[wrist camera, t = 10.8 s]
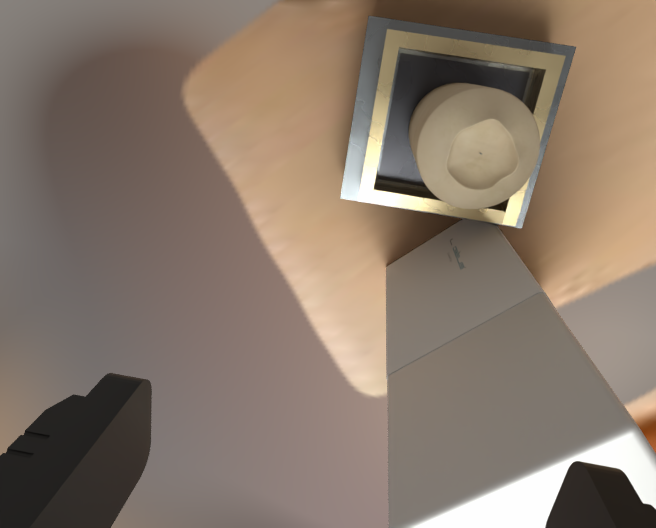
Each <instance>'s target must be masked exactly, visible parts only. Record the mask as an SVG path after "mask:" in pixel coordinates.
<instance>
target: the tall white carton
mask: <svg viewBox="0 0 656 528" xmlns="http://www.w3.org/2000/svg"><path fill="white" fill-rule="evenodd" d="M386 368H387V392H388V497H389V498H388V501H389V502H388V503H389V528H545V526H546V522H547V519H548V516H549V514H550V512H551V509H552V507H553V504H554V502H555V499H556V497H557V495H558V492H559V490H560V487H561V485H562V483H563V480H564V478H565V475H566V473H567V470H568V468H569V467H570V465H571V464H572V463H573V462H575V461H581V462H586V463H591V464H597V465H602V466H608V467H613V468H618V469H620V470H622V471H623V472H624V473H625V474H626V476H627V477H628V479H629V480H630V482H631V484H632V486H633V487H634V489H635V491H636V492H637V494H638V496H639V497H640V499H641V501H642V502H643V503H645V504H650V505H652V506H653V507H654V508H655V509H656V453H655V452H654V450H653V449H652V447H651V445H650V444H649V442H648V441H647V439H646V438H645V436H644V434H643V433H642V431H641V430H640V428H639V427H638V425H637V424H636V422H635V421H634V419H633V418H632V417H631V415H630V414H629V412H628V411H627V410H626V408H625V407H624V405H623V404H622V403H621V401H620V400H619V398H618V397H617V395H616V394H615V393H614V391H613V390H612V388H611V387H610V386H609V384H608V383H607V381H606V380H605V378H604V377H603V376H602V374H601V373H600V371H599V370H598V369H597V367H596V366H595V364H594V363H593V362H592V360H591V359H590V357H589V356H588V354H587V353H586V352H585V350H584V349H583V347H582V346H581V345H580V343H579V342H578V340H577V339H576V337H575V336H574V335H573V333H572V332H571V330H570V329H569V328H568V326H567V325H566V323H565V322H564V321H563V319H562V318H561V316H560V315H559V313H558V312H557V310H556V309H555V307H554V306H553V304H552V303H551V301H550V299H549V298H548V296H547V295H546V293H545V292H544V291H543V289H542V288H541V286H540V285H539V284H538V282H537V281H536V279H535V278H534V277H533V275H532V274H531V272H530V271H529V270H528V268H527V267H526V265H525V264H524V263H523V261H522V260H521V258H520V257H519V256H518V254H517V253H516V251H515V250H514V249H513V247H512V246H511V244H510V243H509V241H508V240H507V239H506V237H505V236H504V234H503V233H502V232H501V230H500V229H499V227H498V226H497V225H496V224H492V223H486V222H480V221H474V220H468V219H462V220H460V221H459V222H457V223H455V224H454V225H452V226H451V227H449V228H447V229H446V230H444V231H443V232H441V233H439V234H438V235H436V236H435V237H433V238H431V239H430V240H428V241H427V242H425V243H423V244H422V245H420V246H419V247H417V248H415V249H414V250H412V251H411V252H409V253H407V254H406V255H404V256H403V257H401V258H399V259H398V260H396V261H395V262H393V263H391V264H390V265H388V266H387V267H386Z"/></svg>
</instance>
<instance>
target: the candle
mask: <svg viewBox="0 0 656 528" xmlns="http://www.w3.org/2000/svg"><path fill="white" fill-rule="evenodd" d="M409 142H410V146H411V150H412V153H413V155H414V158H415V161H416V164H417V167H418V170H419V172H420V175H421V178H422V179H423V181H424V183H425V185H426V186H427V187H428V189H429V190H430V191H431V192H432V193H433V194H434V195H435V196H436V197H438V198H439V199H440V200H442V201H444V202H445V203H447V204H450V205H452V206H455V207H459V208H464V209H482V208H487V207H491V206H494V205H497V204H499V203H501V202H503V201H505V200H507V199H508V198H510V197H511V196H513V195H514V194H515V193H516V192H518V191H519V190H520V189H521V188H522V187H523V185H524V184H525V183H526V182H527V180H528V179H529V178H530V176H531V174H532V172H533V170H534V168H535V166H536V163H537V160H538V156H539V150H540V136H539V130H538V126H537V123H536V121H535V118H534V116H533V114H532V113H531V111H530V110H529V108H528V107H527V106H526V105H525V104H524V103H523V102H522V101H521V100H519V99H518V98H517V97H515V96H514V95H512V94H510V93H508V92H506V91H503V90H500V89H496V88H491V87H486V86H480V85H474V84H469V83H450V84H446V85H442V86H440V87H438V88H435V89H434V90H432V91H431V92H429V93H428V94H427V95H425V96H424V97H423V99H422V100H421V101H420V102H419V103H418V105H417V106H416V108H415V110H414V111H413V114H412V116H411V119H410V123H409Z"/></svg>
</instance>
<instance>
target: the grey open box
mask: <svg viewBox="0 0 656 528" xmlns="http://www.w3.org/2000/svg"><path fill="white" fill-rule="evenodd" d="M575 49H576V47H574V46H567V45H560V44H554V43H547V42H540V41H534V40H527V39H520V38H514V37H507V36H501V35H494V34H487V33H481V32H474V31H467V30H461V29H454V28H447V27H441V26H434V25H427V24H421V23H414V22H407V21H401V20H394V19H387V18H381V17H374V16H369V17H368V24H367V30H366V37H365V43H364V49H363V56H362V62H361V69H360V75H359V81H358V88H357V94H356V101H355V107H354V113H353V120H352V126H351V133H350V139H349V146H348V152H347V158H346V165H345V171H344V178H343V184H342V190H341V197H340V198H341V199H347V200H353V201H359V202H365V203H371V204H377V205H383V206H389V207H395V208H401V209H407V210H413V211H419V212H425V213H431V214H437V215H444V216H450V217H456V218H462V219H468V220H474V221H480V222H486V223H492V224H498V225H504V226H510V227H516V228H522V226H523V222H524V219H525V216H526V212H527V209H528V206H529V202H530V199H531V196H532V192H533V189H534V186H535V182H536V179H537V176H538V172H539V169H540V166H541V163H542V159H543V156H544V153H545V149H546V146H547V143H548V139H549V136H550V133H551V129H552V126H553V123H554V119H555V116H556V113H557V109H558V106H559V103H560V99H561V96H562V93H563V89H564V86H565V83H566V79H567V76H568V73H569V69H570V66H571V63H572V59H573V56H574V53H575ZM450 83H469V84H474V85H480V86H486V87H491V88H496V89H500V90H503V91H506V92H508V93H510V94H512V95H514V96H515V97H517V98H518V99H519V100H521V101H522V102H523V103H524V104H525V105H526V106H527V107H528V108H529V110H530V111H531V113H532V114H533V116H534V118H535V121H536V123H537V126H538V130H539V136H540V150H539V156H538V160H537V163H536V166H535V168H534V170H533V172H532V174H531V176H530V178H529V179H528V180H527V182H526V183H525V184H524V185H523V187H522V188H521V189H520V190H519V191H518V192H516V193H515V194H514V195H513V196H511V197H510V198H508V199H507V200H505V201H503V202H501V203H499V204H497V205H494V206H491V207H487V208H482V209H464V208H459V207H455V206H452V205H450V204H447V203H445V202H444V201H442V200H440V199H439V198H438V197H436V196H435V195H434V194H433V193H432V192H431V191H430V190H429V189H428V187H427V186H426V185H425V183H424V181H423V179H422V178H421V175H420V172H419V170H418V167H417V164H416V161H415V158H414V155H413V153H412V150H411V146H410V142H409V123H410V119H411V116H412V114H413V111H414V110H415V108H416V106H417V105H418V103H419V102H420V101H421V100H422V99H423V97H424V96H425V95H427V94H428V93H429V92H431V91H432V90H434V89H435V88H438V87H440V86H442V85H446V84H450Z"/></svg>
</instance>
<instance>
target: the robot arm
mask: <svg viewBox="0 0 656 528" xmlns="http://www.w3.org/2000/svg"><path fill="white" fill-rule="evenodd" d="M151 390H152V389H151V383H150V381H149V380H146V379H140V378H135V377H130V376H124V375H119V374H113V373H109V374H107V375H105V376H104V378H102V379H101V380H100V381H99V383H98V384H97V385H96V386H95V387H94V388H93V389H92V390H91V391H90V393H89V394H88V395H87V396H86V397H84V396H78V395H72V396H70V397H68V398H66V399H65V400H63V401H61V402H59V403H57V404H56V405H54V406H52V407H50V408H48V409H46V410H45V411H44V412H43V413H42V414H41V415H40V416H39V417H38V418H37V419H36V420H35V421H34V422H33V423H32V424H31V425H30V426H29V427H28V428H27V429H26V430H25V433H24V435H20V436H19V437H18V438H17V440H15V441H14V443H12V444H11V445H10V446H9V447H8V449H7V452H6V453H3V454H2V455H1V456H0V528H111V526H112V524H113V523H114V521H115V519H116V518H117V516H118V514H119V513H120V511H121V509H122V508H123V506H124V504H125V502H126V501H127V499H128V497H129V496H130V494H131V492H132V491H133V489H134V487H135V486H136V484H137V482H138V481H139V479H140V477H141V475H142V473H143V471H144V468H145V466H146V463H147V460H148V456H149V452H150V445H151V395H152V391H151ZM545 528H656V509H655V508H654V507H653V506H652V505H650V504H645V503H643V502H642V501H641V499H640V497H639V496H638V494H637V492H636V491H635V489H634V487H633V486H632V484H631V482H630V480H629V479H628V477H627V476H626V474H625V473H624V472H623V471H622V470H620V469H618V468H613V467H608V466H602V465H597V464H591V463H586V462H581V461H575V462H573V463H572V464H571V465H570V467H569V468H568V470H567V473H566V475H565V478H564V480H563V483H562V485H561V487H560V490H559V492H558V495H557V497H556V499H555V502H554V504H553V507H552V509H551V512H550V514H549V516H548V519H547V522H546V526H545Z"/></svg>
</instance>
